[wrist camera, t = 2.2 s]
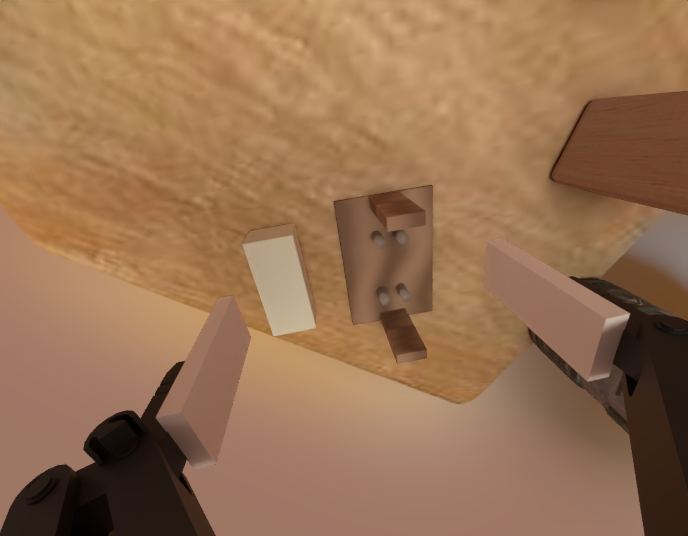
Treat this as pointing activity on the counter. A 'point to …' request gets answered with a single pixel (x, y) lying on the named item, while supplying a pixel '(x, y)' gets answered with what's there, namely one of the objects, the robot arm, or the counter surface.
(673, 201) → the block
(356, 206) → the peg frame
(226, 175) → the counter surface
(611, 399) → the canister
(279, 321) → the cream rectangular block
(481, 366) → the counter surface
